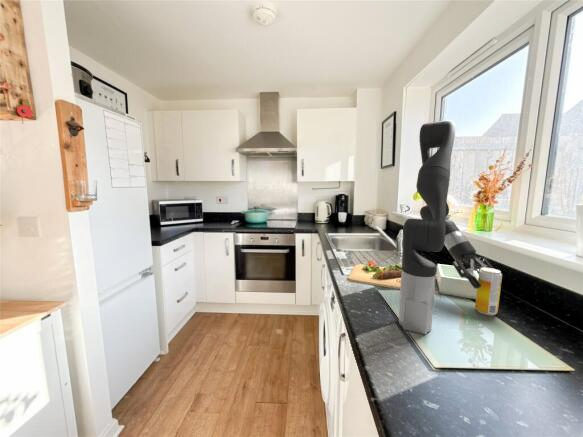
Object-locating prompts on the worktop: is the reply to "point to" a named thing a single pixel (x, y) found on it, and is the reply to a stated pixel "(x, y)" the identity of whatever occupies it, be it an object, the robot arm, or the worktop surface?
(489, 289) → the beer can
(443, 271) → the bin
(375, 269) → the cutting board
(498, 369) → the worktop surface
